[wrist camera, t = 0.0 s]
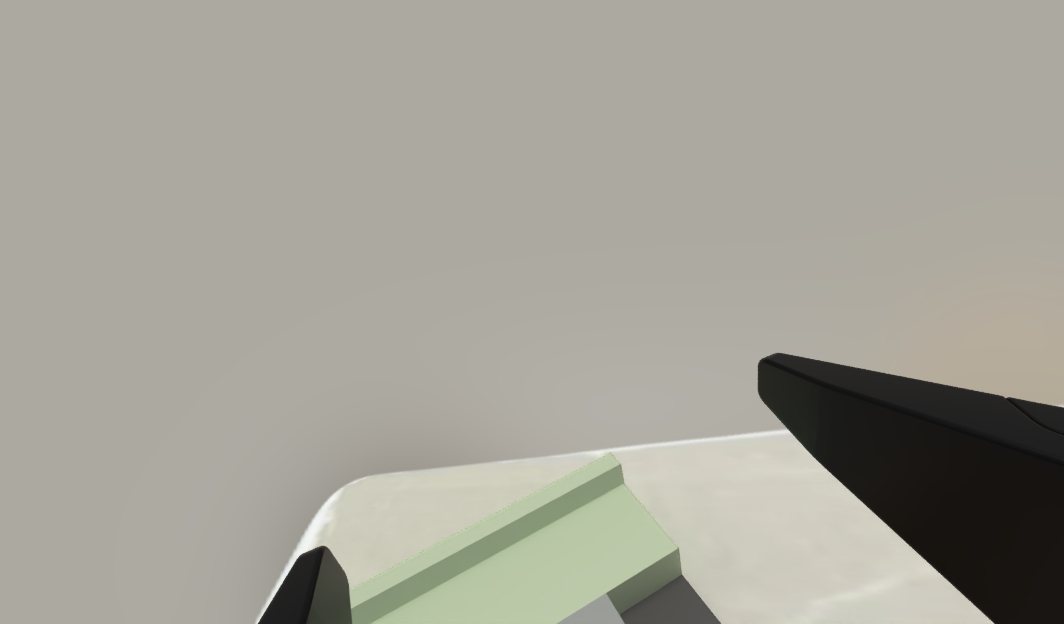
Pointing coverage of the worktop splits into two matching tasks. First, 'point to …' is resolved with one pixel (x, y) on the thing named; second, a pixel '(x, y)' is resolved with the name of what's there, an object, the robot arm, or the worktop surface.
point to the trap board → (544, 565)
